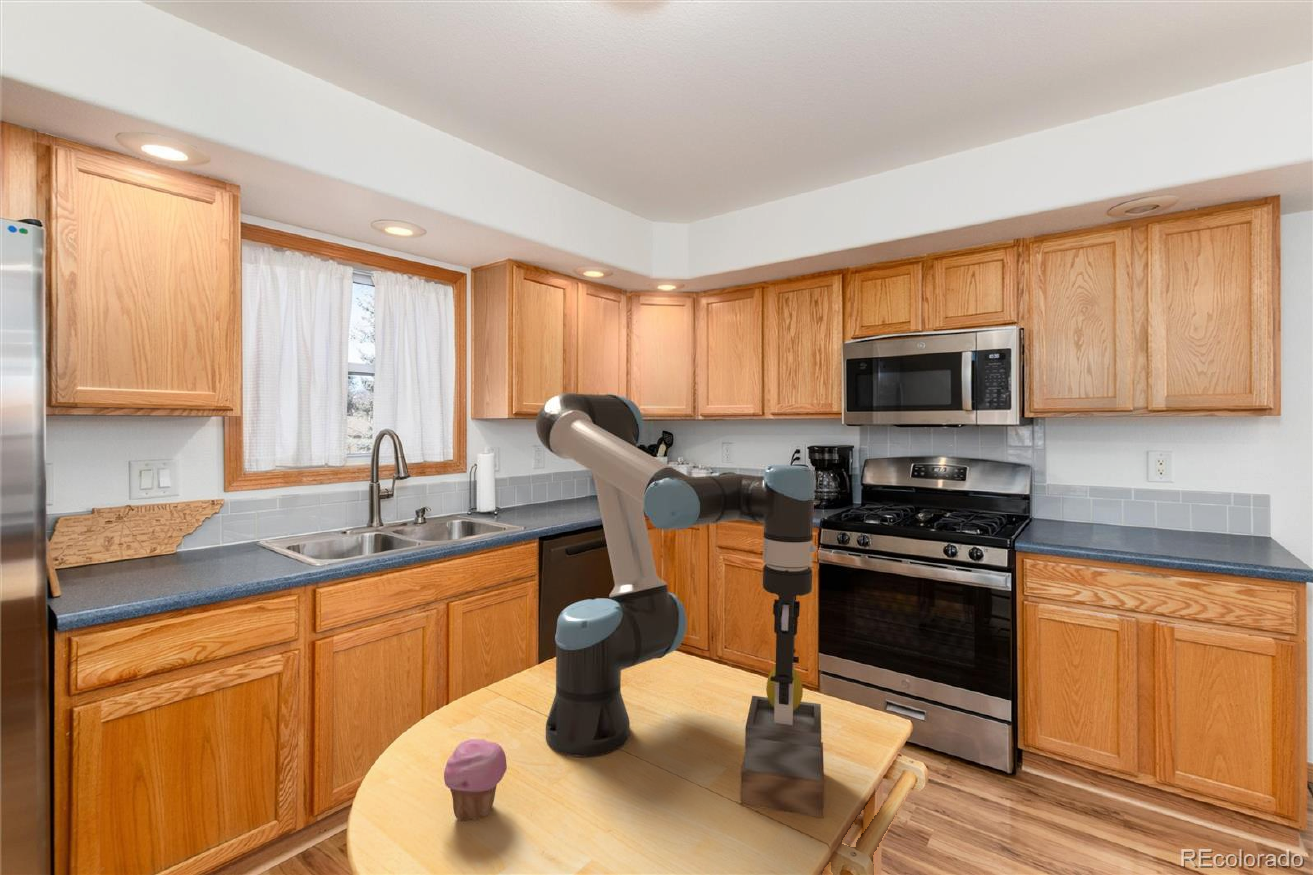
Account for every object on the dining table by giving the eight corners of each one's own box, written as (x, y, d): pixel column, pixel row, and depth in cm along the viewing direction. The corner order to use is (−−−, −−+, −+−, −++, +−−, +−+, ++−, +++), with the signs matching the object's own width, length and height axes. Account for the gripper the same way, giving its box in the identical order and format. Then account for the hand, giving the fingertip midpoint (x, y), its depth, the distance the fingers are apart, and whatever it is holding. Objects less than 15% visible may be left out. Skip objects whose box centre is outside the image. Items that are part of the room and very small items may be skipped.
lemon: (794, 726, 93) (796, 673, 93) (760, 716, 96) (761, 665, 96) (806, 712, 98) (808, 662, 98) (773, 703, 101) (774, 654, 101)
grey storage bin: (740, 804, 93) (741, 728, 93) (748, 761, 104) (749, 694, 104) (823, 817, 90) (825, 739, 90) (822, 772, 102) (823, 702, 101)
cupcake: (452, 794, 94) (453, 729, 94) (510, 792, 95) (511, 727, 95) (436, 832, 85) (436, 761, 85) (500, 830, 86) (500, 759, 86)
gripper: (812, 582, 86) (808, 746, 87) (812, 554, 104) (809, 691, 105) (757, 578, 88) (754, 739, 89) (767, 551, 106) (764, 685, 107)
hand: (784, 712), depth 97 cm, fingers closed on lemon, 5 cm apart
